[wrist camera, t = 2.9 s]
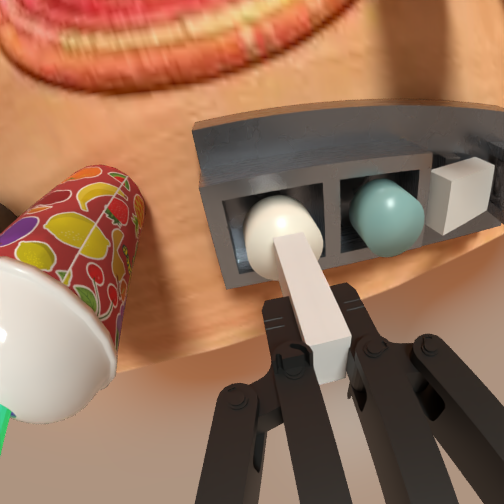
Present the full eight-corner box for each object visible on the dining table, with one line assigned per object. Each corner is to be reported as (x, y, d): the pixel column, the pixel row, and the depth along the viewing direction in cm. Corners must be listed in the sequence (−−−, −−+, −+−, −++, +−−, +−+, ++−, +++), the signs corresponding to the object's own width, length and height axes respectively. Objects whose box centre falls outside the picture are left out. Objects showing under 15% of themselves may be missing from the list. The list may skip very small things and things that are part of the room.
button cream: (248, 260, 19) (253, 287, 17) (236, 202, 17) (240, 224, 14) (311, 248, 19) (323, 272, 17) (307, 189, 17) (321, 209, 14)
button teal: (348, 240, 19) (364, 263, 17) (348, 182, 17) (367, 201, 15) (400, 229, 19) (419, 249, 17) (405, 174, 17) (428, 191, 15)
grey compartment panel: (229, 264, 26) (235, 326, 20) (194, 122, 19) (185, 147, 13) (483, 211, 26) (524, 246, 20) (496, 105, 19) (549, 127, 13)
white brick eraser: (422, 222, 19) (442, 235, 18) (428, 170, 17) (451, 181, 15) (469, 200, 21) (486, 210, 19) (475, 156, 18) (494, 165, 17)
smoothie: (128, 263, 24) (77, 512, 8) (47, 215, 21) (-76, 435, 4) (179, 186, 21) (135, 513, 5) (86, 128, 18) (-141, 354, 1)
